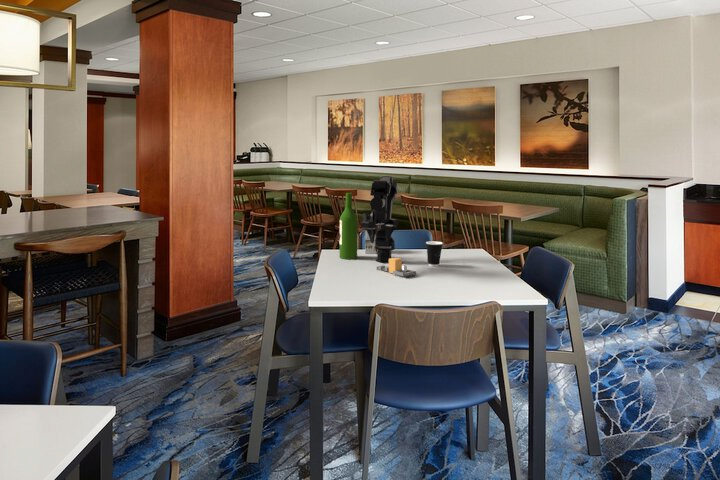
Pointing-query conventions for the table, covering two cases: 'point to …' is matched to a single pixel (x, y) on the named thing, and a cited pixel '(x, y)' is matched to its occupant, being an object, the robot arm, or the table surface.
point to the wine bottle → (348, 231)
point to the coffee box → (368, 245)
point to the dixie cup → (434, 253)
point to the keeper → (404, 270)
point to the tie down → (396, 267)
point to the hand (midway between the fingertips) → (379, 242)
